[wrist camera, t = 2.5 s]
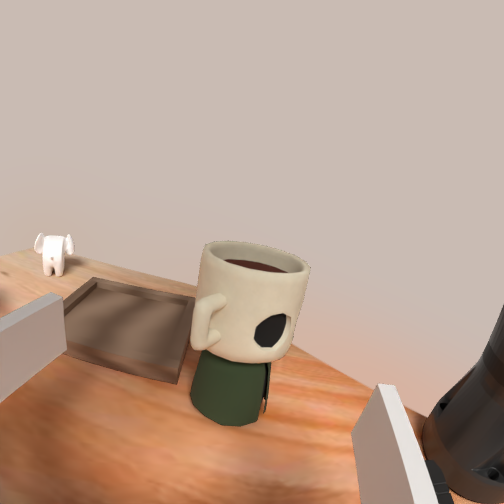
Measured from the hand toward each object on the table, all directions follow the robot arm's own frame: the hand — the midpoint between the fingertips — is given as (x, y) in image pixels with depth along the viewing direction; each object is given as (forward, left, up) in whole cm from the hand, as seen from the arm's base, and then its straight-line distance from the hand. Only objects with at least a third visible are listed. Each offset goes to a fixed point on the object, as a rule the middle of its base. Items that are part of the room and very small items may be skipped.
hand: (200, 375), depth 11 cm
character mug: (-2, -10, -11) cm, 15 cm away
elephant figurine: (+26, -29, -11) cm, 40 cm away
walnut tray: (+10, -19, -11) cm, 24 cm away
